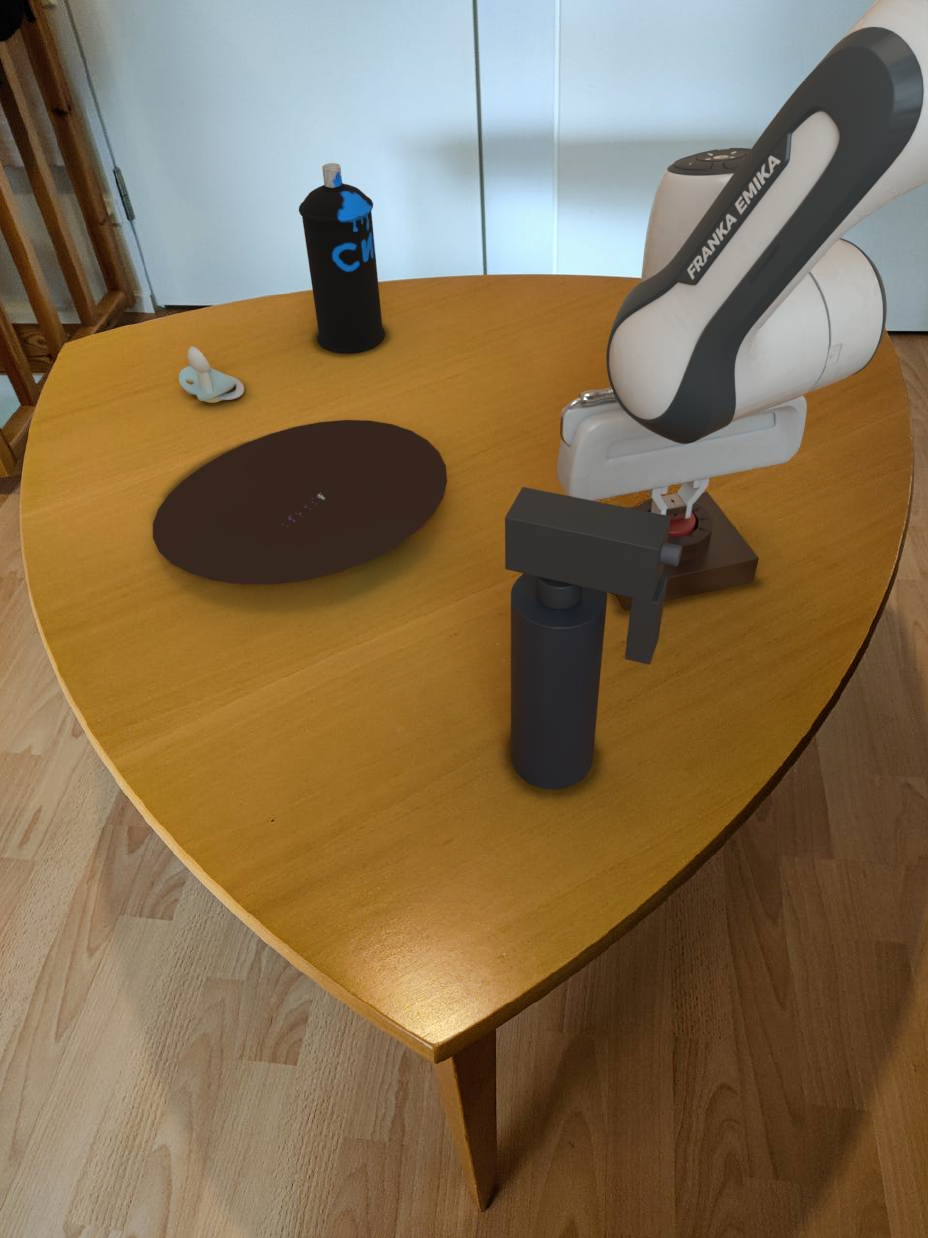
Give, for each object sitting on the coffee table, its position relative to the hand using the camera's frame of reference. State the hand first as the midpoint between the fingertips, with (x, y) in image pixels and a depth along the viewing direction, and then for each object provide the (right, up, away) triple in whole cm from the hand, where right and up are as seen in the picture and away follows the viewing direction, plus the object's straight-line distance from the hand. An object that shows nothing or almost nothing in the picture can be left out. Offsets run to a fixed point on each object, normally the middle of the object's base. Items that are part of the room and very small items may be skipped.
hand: (670, 517), depth 85 cm
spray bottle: (-9, -19, -13) cm, 25 cm away
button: (0, -1, +1) cm, 2 cm away
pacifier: (-46, +17, +27) cm, 55 cm away
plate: (-33, +1, +10) cm, 35 cm away
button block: (0, -3, +3) cm, 5 cm away
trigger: (-7, -11, -23) cm, 26 cm away
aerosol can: (-31, +25, +35) cm, 54 cm away
